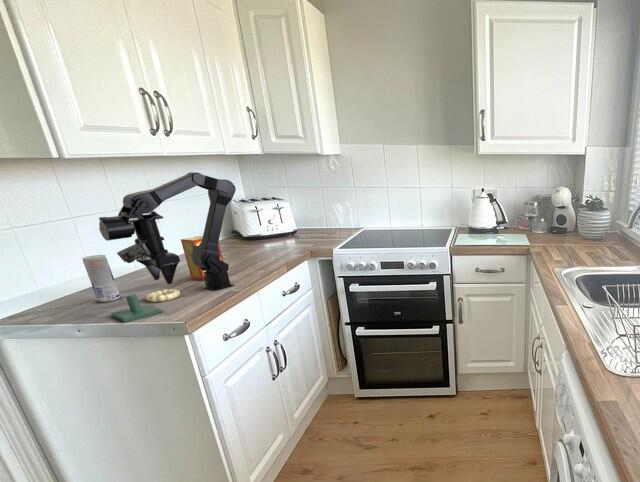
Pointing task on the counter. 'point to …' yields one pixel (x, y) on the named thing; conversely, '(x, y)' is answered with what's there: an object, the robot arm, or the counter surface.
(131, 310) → the stand
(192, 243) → the baking soda box
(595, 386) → the counter surface
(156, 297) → the ring
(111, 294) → the beverage can
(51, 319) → the counter surface
